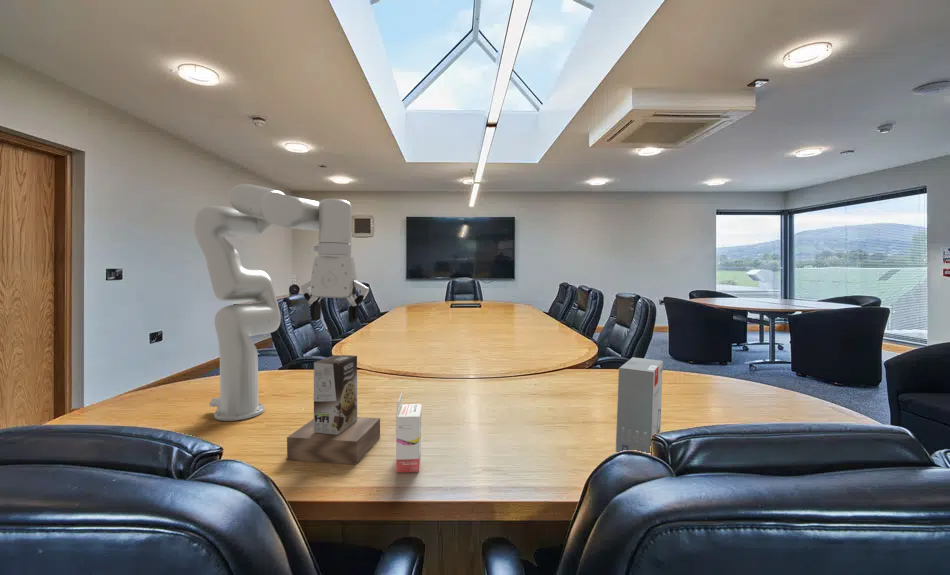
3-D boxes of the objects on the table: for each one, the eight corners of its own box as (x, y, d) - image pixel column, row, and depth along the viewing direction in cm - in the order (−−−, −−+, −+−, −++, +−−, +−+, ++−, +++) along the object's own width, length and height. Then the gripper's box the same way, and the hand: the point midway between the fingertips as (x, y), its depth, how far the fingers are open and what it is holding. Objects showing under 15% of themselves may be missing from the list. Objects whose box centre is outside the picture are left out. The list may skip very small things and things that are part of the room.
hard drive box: (651, 462, 89) (653, 372, 88) (615, 454, 93) (616, 367, 92) (661, 438, 102) (663, 359, 101) (629, 432, 106) (630, 356, 106)
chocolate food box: (339, 435, 90) (338, 363, 90) (312, 433, 91) (312, 361, 91) (358, 420, 99) (358, 355, 99) (334, 418, 100) (333, 353, 100)
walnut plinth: (287, 459, 89) (286, 437, 89) (319, 434, 103) (319, 415, 103) (357, 464, 87) (356, 441, 87) (380, 438, 101) (380, 418, 101)
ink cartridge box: (420, 472, 84) (420, 402, 83) (395, 473, 84) (395, 402, 83) (422, 454, 93) (422, 390, 92) (399, 454, 92) (399, 390, 92)
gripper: (293, 249, 97) (292, 321, 98) (362, 251, 94) (361, 324, 95) (310, 251, 104) (309, 317, 105) (374, 252, 102) (373, 320, 103)
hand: (334, 321), depth 100 cm, fingers open, 9 cm apart
